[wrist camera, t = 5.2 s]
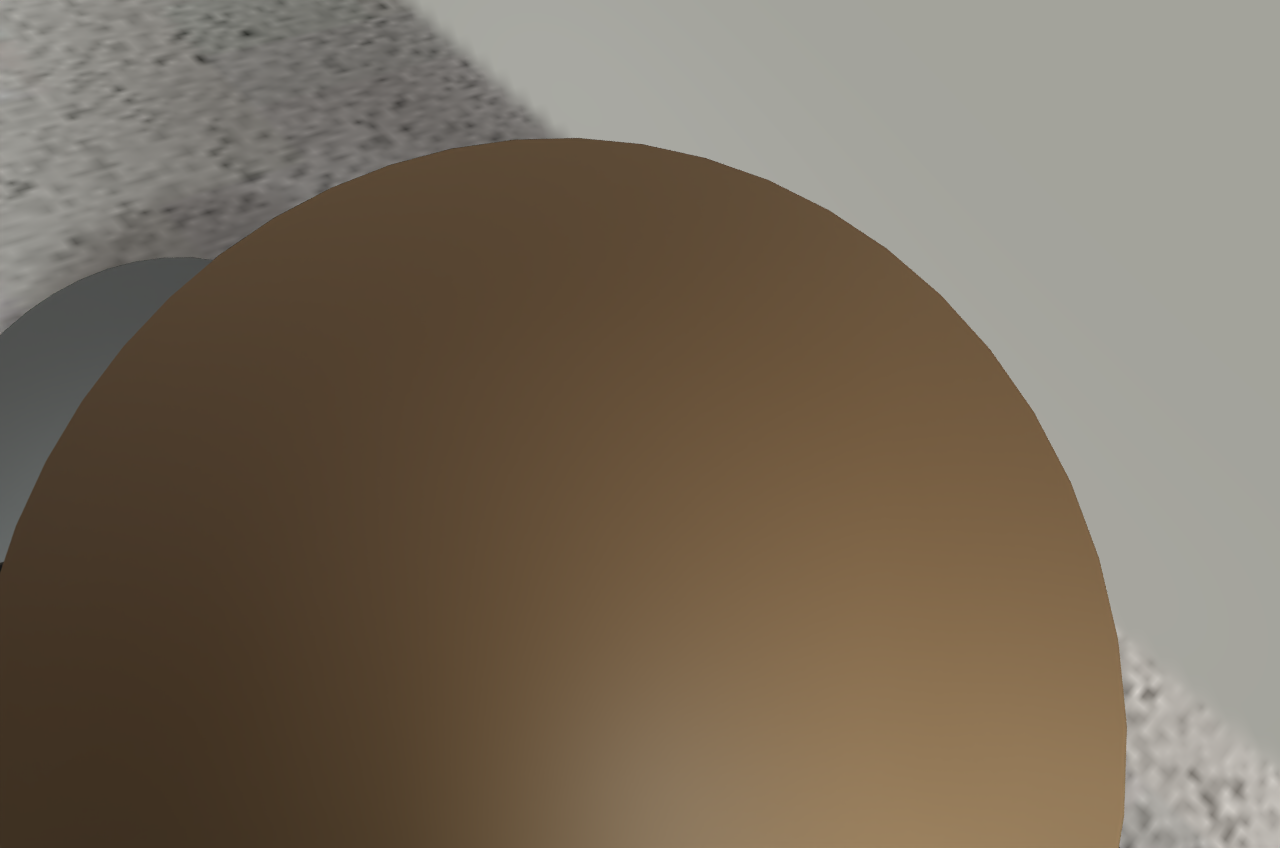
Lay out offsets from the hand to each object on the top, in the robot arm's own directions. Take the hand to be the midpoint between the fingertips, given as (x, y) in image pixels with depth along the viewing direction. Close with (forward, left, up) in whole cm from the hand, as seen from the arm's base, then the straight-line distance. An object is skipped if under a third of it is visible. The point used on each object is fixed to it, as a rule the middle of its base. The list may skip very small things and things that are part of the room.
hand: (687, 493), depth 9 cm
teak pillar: (-1, 0, -7) cm, 7 cm away
